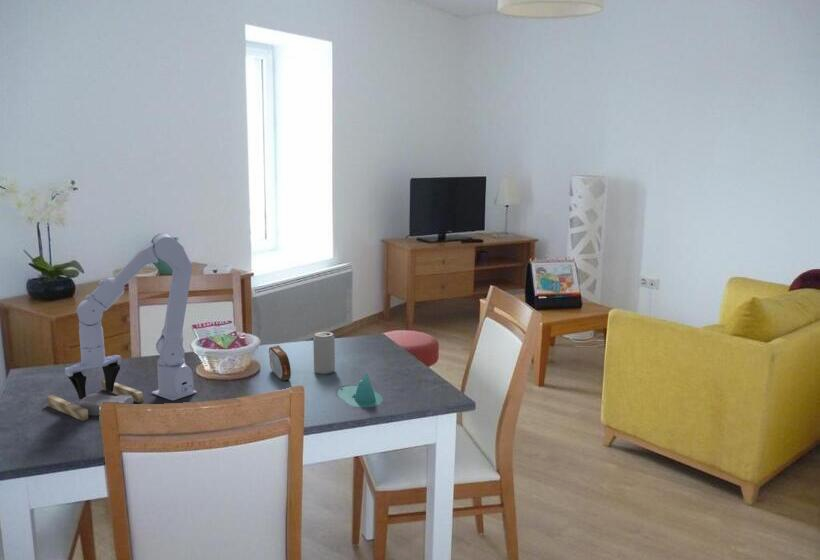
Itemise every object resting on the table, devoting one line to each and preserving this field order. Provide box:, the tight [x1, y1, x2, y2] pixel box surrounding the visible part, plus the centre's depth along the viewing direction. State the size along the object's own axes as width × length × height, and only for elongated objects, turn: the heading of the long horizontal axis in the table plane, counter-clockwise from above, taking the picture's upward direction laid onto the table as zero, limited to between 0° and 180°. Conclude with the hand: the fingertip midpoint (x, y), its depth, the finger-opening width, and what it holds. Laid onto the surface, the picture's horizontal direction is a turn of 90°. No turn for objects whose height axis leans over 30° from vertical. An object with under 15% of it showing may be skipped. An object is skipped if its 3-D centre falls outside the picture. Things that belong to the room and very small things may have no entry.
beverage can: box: [312, 331, 336, 375], centre depth 211 cm, size 6×6×12 cm
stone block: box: [77, 392, 134, 417], centre depth 180 cm, size 12×5×10 cm
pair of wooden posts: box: [46, 379, 144, 422], centre depth 184 cm, size 17×17×2 cm
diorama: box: [336, 371, 384, 408], centre depth 191 cm, size 12×20×9 cm, turn 27°
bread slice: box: [268, 345, 292, 381], centre depth 207 cm, size 15×3×8 cm, turn 26°
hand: (96, 395), depth 184 cm, fingers open, 7 cm apart
